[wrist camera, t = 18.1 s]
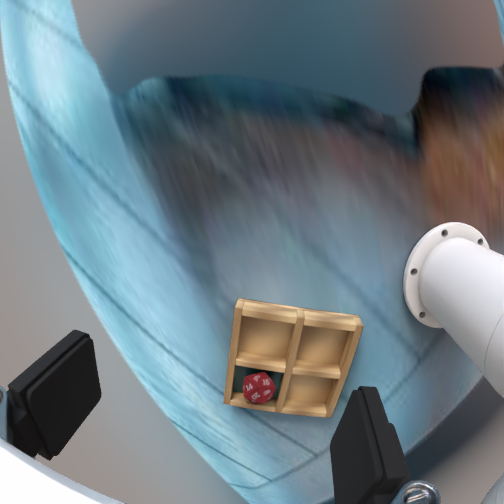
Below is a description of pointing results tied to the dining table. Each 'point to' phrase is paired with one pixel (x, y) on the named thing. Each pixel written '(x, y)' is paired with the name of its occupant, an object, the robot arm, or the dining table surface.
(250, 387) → the dice
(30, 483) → the robot arm
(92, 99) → the dining table surface
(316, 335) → the wooden compartment tray
